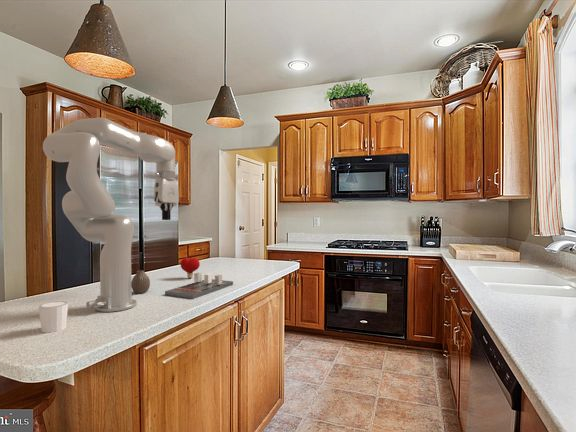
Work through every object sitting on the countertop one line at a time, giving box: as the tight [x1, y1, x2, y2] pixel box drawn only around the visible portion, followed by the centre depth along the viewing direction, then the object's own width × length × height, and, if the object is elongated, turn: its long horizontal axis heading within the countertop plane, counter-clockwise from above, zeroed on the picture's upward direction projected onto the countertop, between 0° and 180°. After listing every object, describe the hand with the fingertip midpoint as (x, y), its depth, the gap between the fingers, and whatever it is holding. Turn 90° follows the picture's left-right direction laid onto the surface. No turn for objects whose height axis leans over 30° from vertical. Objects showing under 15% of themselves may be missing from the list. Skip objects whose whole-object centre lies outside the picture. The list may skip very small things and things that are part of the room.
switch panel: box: [164, 272, 234, 300], centre depth 140 cm, size 26×14×6 cm, turn 155°
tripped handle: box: [203, 273, 213, 283], centre depth 144 cm, size 2×2×4 cm
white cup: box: [38, 300, 69, 334], centre depth 94 cm, size 7×7×7 cm
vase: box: [131, 269, 151, 295], centre depth 135 cm, size 7×7×9 cm
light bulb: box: [180, 257, 201, 279], centre depth 163 cm, size 9×7×10 cm
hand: (166, 219), depth 142 cm, fingers closed
